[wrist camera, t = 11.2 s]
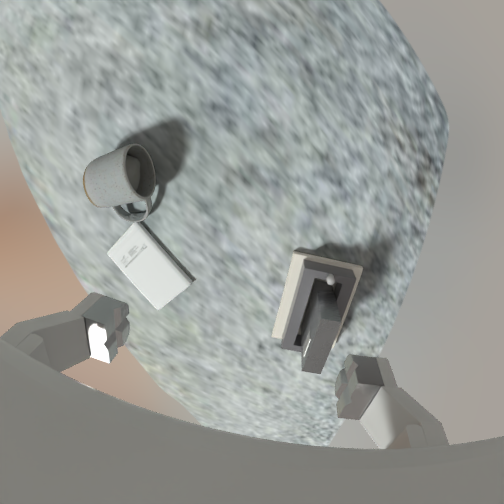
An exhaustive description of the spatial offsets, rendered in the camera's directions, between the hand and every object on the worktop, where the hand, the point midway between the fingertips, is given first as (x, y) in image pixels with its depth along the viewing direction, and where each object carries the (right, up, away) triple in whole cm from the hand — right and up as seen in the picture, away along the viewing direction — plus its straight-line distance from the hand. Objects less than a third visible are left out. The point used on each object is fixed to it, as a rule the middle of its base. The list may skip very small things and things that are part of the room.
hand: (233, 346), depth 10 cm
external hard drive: (-15, +1, +35) cm, 39 cm away
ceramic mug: (-16, +13, +31) cm, 37 cm away
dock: (+10, -4, +33) cm, 35 cm away
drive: (+10, -4, +32) cm, 34 cm away
